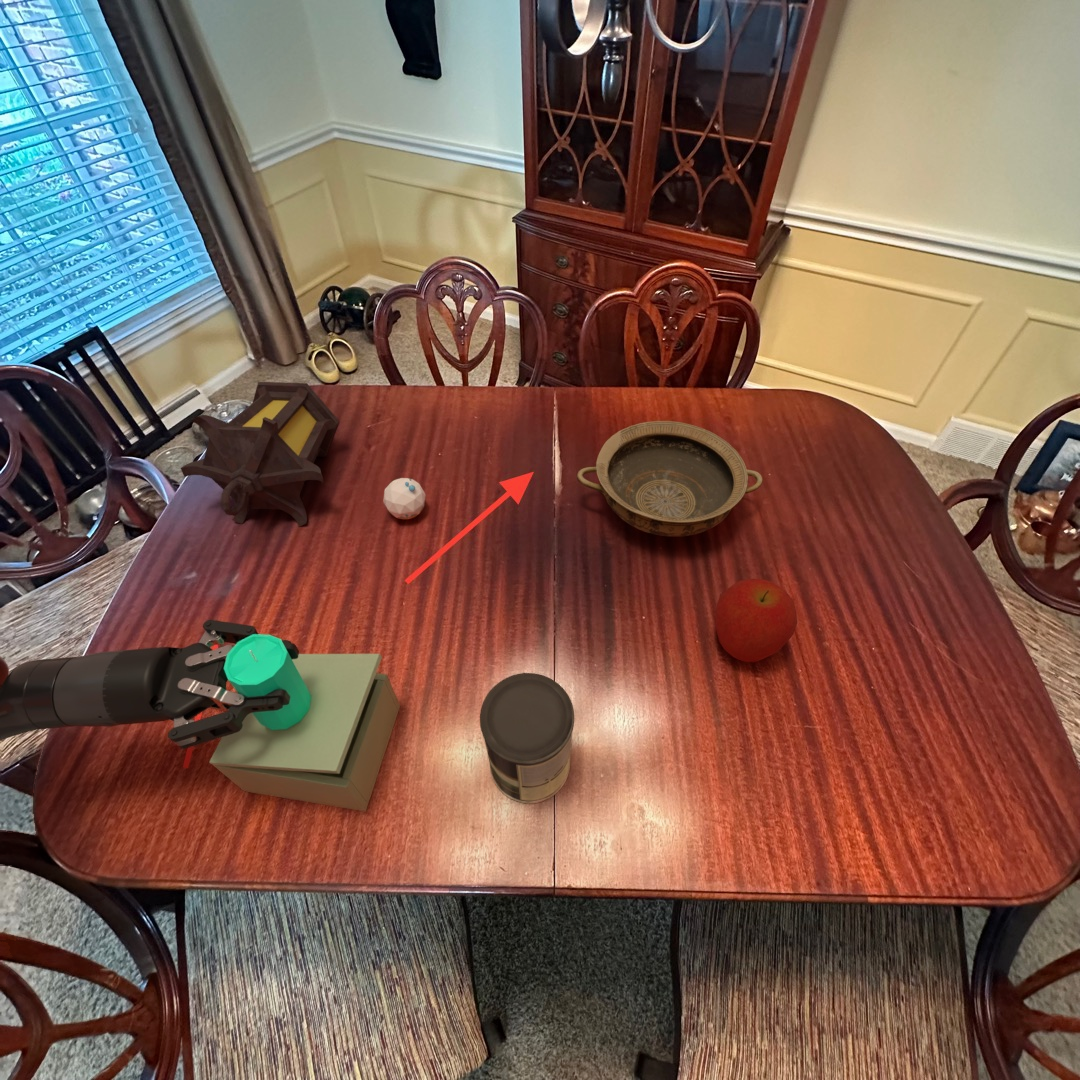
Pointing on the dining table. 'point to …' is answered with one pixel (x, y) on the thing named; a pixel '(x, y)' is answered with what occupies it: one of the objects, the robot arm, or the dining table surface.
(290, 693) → the candle
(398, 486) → the ornament
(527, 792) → the coffee can
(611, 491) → the ceramic bowl
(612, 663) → the dining table surface
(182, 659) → the robot arm
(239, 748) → the lid
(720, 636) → the apple
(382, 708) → the chest
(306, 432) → the lantern
